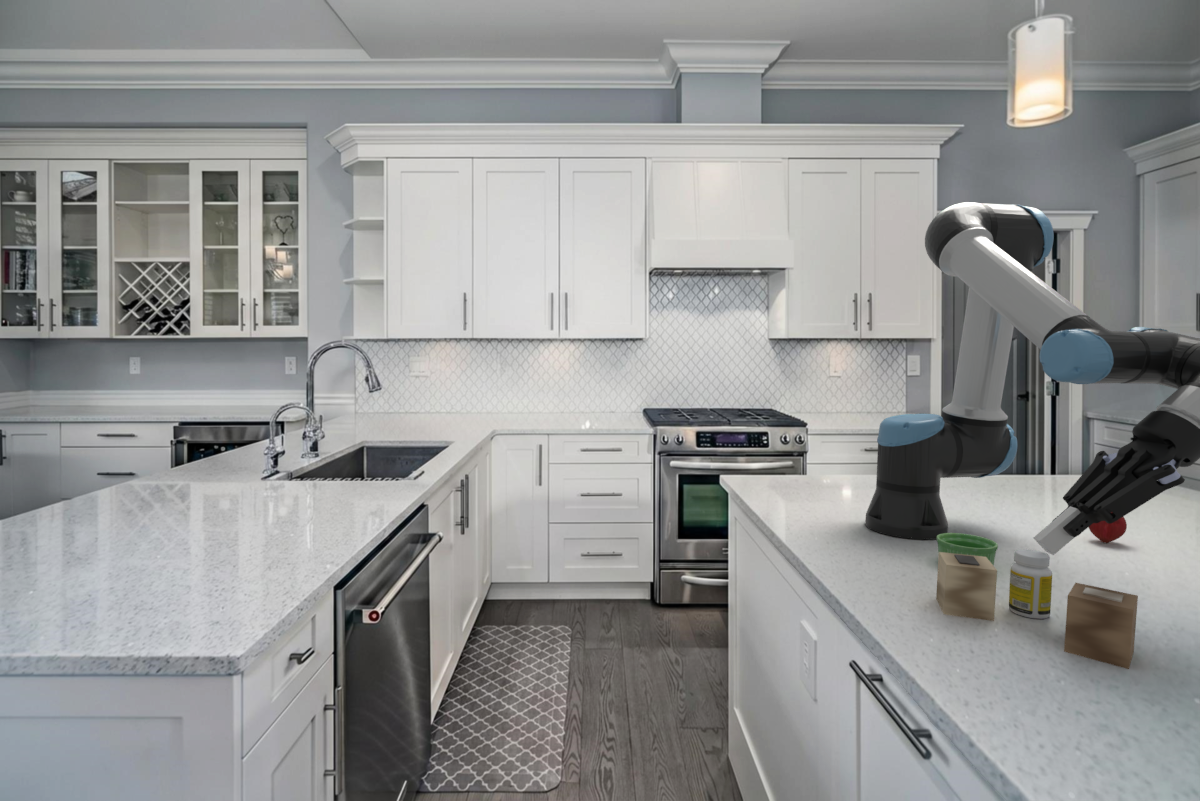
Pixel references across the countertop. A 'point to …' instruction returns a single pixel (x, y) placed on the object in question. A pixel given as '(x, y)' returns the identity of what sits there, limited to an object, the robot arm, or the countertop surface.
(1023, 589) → the supplement bottle
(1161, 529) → the countertop surface
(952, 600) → the maple block
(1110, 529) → the onion
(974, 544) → the ramekin
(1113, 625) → the walnut block
